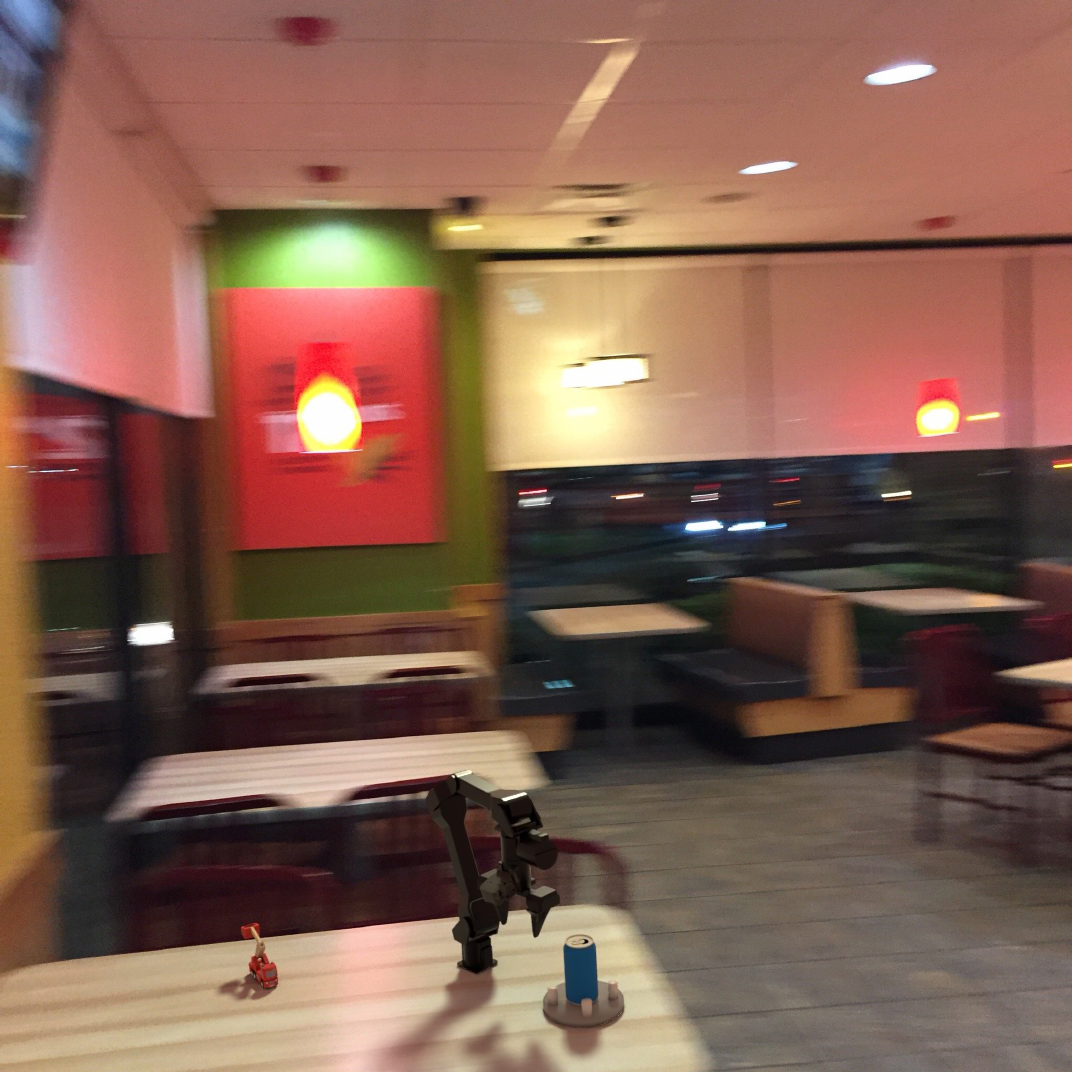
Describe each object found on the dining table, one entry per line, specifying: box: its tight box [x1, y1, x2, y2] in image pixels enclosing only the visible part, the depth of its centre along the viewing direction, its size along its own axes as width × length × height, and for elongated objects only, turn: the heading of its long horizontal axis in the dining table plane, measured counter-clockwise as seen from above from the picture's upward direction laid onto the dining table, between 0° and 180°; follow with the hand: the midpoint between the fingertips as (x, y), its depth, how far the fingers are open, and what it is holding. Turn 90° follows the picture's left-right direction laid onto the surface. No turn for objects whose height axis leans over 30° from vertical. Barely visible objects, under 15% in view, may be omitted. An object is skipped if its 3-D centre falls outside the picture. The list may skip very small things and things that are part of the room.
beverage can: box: [562, 933, 599, 1006], centre depth 206 cm, size 6×6×12 cm
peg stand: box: [542, 979, 625, 1029], centre depth 206 cm, size 16×16×4 cm
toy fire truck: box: [240, 922, 279, 989], centre depth 224 cm, size 3×14×10 cm, turn 34°
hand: (519, 930), depth 211 cm, fingers open, 9 cm apart
